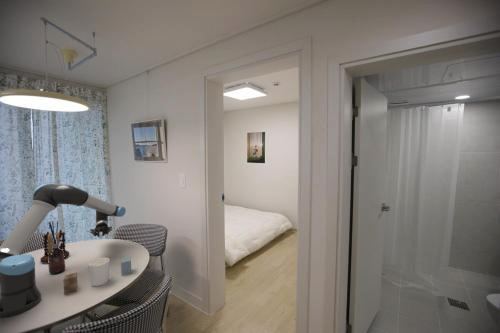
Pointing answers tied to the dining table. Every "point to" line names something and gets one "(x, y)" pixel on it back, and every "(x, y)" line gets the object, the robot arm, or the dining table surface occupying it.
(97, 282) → the candle holder
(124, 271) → the slate-blue block
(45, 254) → the brown dark-edged pieces
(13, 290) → the robot arm
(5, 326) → the dining table surface
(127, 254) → the dining table surface
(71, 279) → the walnut block
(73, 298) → the dining table surface
